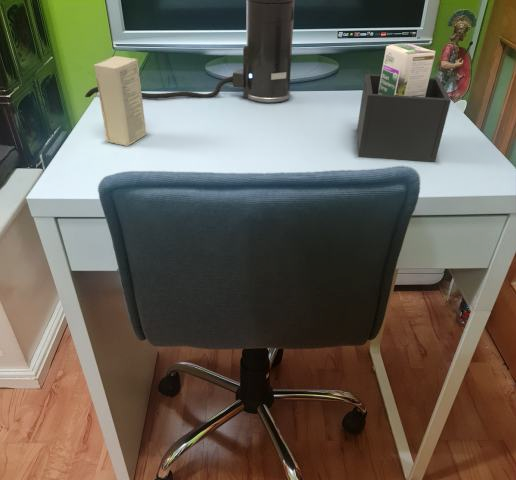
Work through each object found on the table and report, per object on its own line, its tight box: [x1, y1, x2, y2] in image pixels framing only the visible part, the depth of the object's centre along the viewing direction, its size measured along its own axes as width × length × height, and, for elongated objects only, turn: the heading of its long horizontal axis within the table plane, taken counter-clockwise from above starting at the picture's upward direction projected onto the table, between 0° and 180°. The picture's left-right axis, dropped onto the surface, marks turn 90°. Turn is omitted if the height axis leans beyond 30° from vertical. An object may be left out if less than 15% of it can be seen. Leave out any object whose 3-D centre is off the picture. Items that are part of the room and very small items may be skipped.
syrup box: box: [378, 43, 436, 97], centre depth 84 cm, size 6×6×14 cm
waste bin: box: [356, 73, 452, 163], centre depth 86 cm, size 13×13×10 cm
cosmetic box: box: [93, 55, 147, 147], centre depth 84 cm, size 6×4×12 cm
